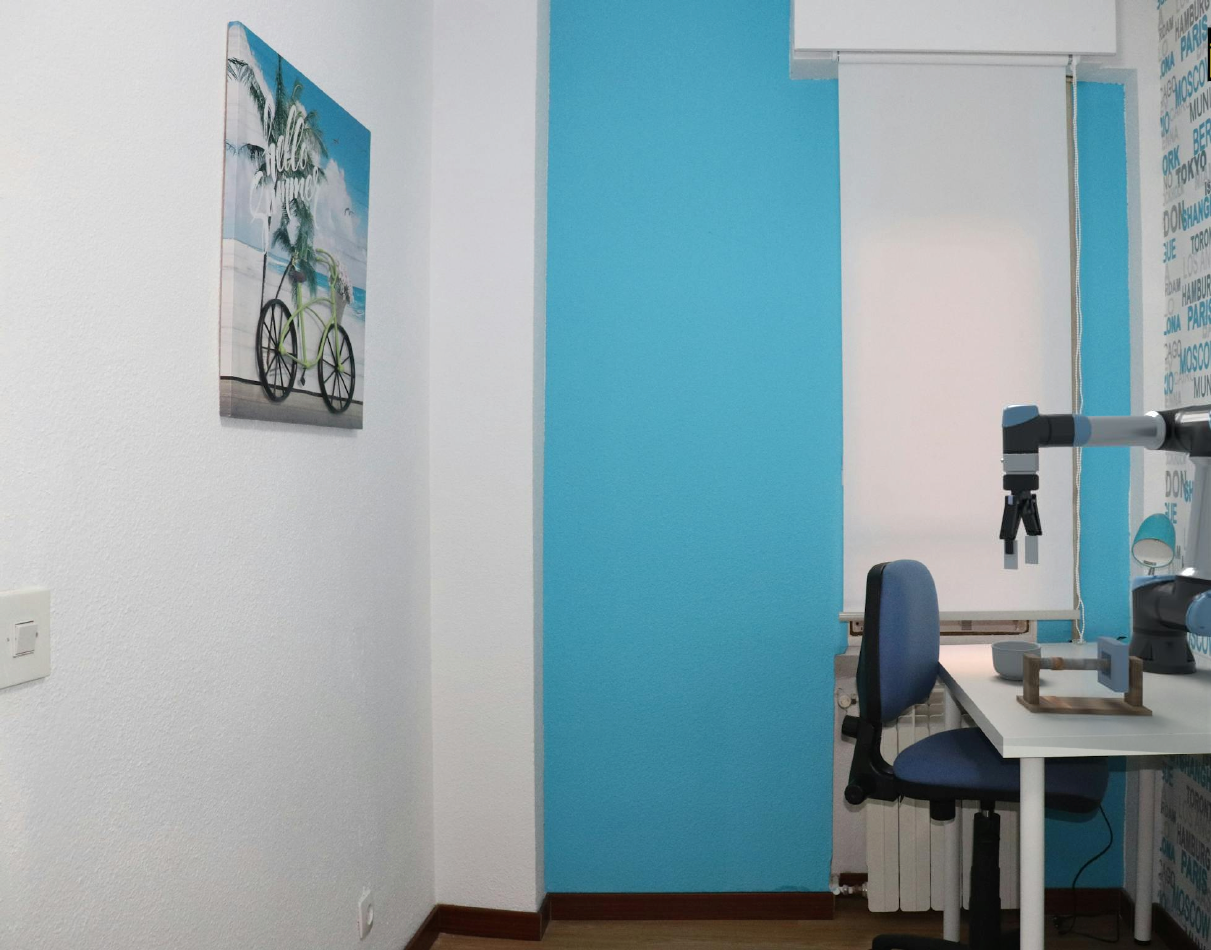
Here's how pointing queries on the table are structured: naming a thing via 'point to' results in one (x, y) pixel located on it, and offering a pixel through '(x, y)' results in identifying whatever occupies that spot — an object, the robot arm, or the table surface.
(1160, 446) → the robot arm
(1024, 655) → the wooden rod stand
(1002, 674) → the teacup
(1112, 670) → the ring
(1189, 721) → the table surface
